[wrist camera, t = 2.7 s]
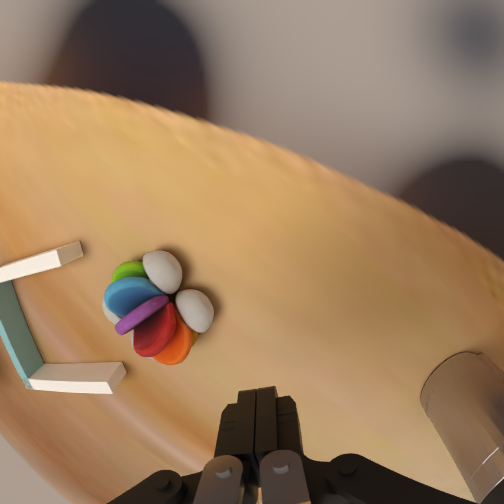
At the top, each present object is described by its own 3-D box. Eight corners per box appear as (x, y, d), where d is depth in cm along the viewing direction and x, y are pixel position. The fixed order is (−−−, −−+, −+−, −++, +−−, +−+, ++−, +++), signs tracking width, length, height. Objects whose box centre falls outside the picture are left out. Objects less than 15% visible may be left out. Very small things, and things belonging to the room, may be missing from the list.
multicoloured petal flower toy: (164, 357, 29) (141, 400, 22) (102, 283, 28) (63, 311, 21) (228, 315, 28) (217, 358, 21) (162, 231, 26) (128, 249, 19)
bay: (79, 240, 27) (56, 249, 23) (126, 372, 30) (112, 393, 26) (0, 266, 28) (-22, 275, 24) (42, 372, 31) (26, 388, 27)
